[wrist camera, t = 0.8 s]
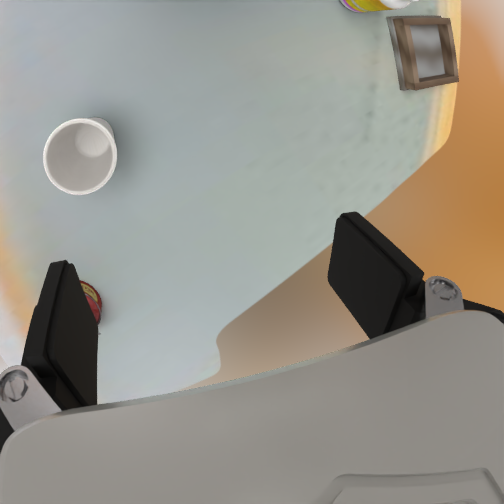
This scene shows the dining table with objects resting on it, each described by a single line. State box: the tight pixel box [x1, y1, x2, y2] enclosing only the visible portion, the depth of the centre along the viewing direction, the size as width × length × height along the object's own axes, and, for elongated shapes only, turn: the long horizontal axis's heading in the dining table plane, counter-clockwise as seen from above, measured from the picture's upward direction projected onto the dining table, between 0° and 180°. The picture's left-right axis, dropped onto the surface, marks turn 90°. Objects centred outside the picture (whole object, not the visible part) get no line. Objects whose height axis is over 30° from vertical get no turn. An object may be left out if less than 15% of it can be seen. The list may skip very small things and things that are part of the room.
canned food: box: [80, 280, 102, 335], centre depth 46 cm, size 11×10×10 cm
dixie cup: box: [43, 117, 117, 195], centre depth 33 cm, size 8×8×10 cm
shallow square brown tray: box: [387, 16, 459, 90], centre depth 40 cm, size 13×13×4 cm
